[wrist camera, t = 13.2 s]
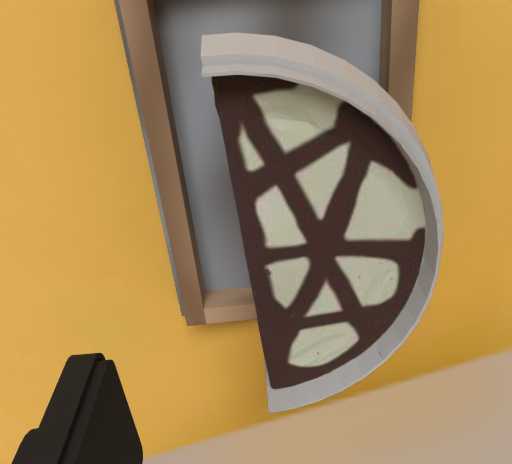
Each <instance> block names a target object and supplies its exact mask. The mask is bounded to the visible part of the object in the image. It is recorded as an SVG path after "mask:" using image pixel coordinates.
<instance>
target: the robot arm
mask: <svg viewBox="0 0 512 464" xmlns="http://www.w3.org/2000/svg"><path fill="white" fill-rule="evenodd" d="M142 462H143V451H142V445H141V442H140V439H139V436H138V433H137V430H136V427H135V424H134V421H133V418H132V415H131V412H130V409H129V406H128V403H127V400H126V397H125V394H124V391H123V388H122V385H121V382H120V379H119V376H118V373H117V370H116V367H115V364H114V362H113V360H105V357H104V355H103V354H102V353H93V354H82V355H71V356H70V357H69V358H68V360H67V362H66V364H65V366H64V369H63V371H62V373H61V376H60V378H59V381H58V383H57V385H56V388H55V390H54V392H53V395H52V397H51V399H50V402H49V404H48V407H47V409H46V411H45V414H44V416H43V418H42V421H41V423H40V425H39V428H36V429H32V430H30V431H29V432H28V433H27V434H26V435H25V437H24V438H23V440H22V442H21V444H20V446H19V448H18V451H17V453H16V455H15V457H14V460H13V462H12V464H142Z"/></svg>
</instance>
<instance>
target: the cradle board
mask: <svg viewBox="0 0 512 464" xmlns="http://www.w3.org/2000/svg"><path fill="white" fill-rule="evenodd" d="M114 1H115V6H116V11H117V15H118V20H119V25H120V29H121V34H122V39H123V43H124V48H125V53H126V57H127V62H128V67H129V71H130V76H131V81H132V85H133V90H134V95H135V99H136V104H137V108H138V113H139V118H140V122H141V127H142V132H143V136H144V141H145V146H146V150H147V155H148V160H149V164H150V169H151V174H152V178H153V183H154V188H155V192H156V197H157V202H158V206H159V211H160V216H161V220H162V225H163V230H164V234H165V239H166V244H167V248H168V253H169V257H170V262H171V267H172V271H173V276H174V281H175V285H176V290H177V295H178V299H179V304H180V309H181V313H182V316H185V318H186V322H187V326H191V325H202V324H212V323H222V322H233V321H243V320H253V319H257V314H256V308H255V303H254V297H253V292H252V288H251V283H250V278H249V273H248V268H247V263H246V257H245V252H244V246H243V241H242V235H241V229H240V224H239V218H238V213H237V209H236V203H235V197H234V192H233V187H232V182H231V177H230V172H229V166H228V161H227V155H226V150H225V144H224V139H223V134H222V129H221V124H220V119H219V115H218V113H217V110H216V107H215V99H214V90H213V86H212V78H211V77H202V75H201V72H202V67H203V65H202V60H201V41H202V35H212V34H225V33H248V34H260V35H272V36H278V37H282V38H286V39H290V40H293V41H297V42H301V43H305V44H309V45H312V46H314V47H317V48H319V49H321V50H323V51H326V52H328V53H330V54H332V55H335V56H337V57H339V58H341V59H344V60H345V61H347V62H348V63H350V64H351V65H353V66H354V67H356V68H357V69H359V70H360V71H362V72H363V73H365V74H366V75H368V76H369V77H371V78H372V79H373V80H374V81H376V82H377V83H378V84H379V85H380V86H381V87H382V88H383V89H384V90H385V91H386V92H387V93H388V94H389V95H390V96H391V97H392V98H393V99H394V100H395V101H396V102H397V103H398V104H399V106H400V107H401V109H402V110H403V112H404V113H405V114H406V116H407V117H408V119H409V120H410V121H411V115H412V100H413V85H414V70H415V54H416V39H417V24H418V9H419V0H114Z"/></svg>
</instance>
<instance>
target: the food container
mask: <svg viewBox="0 0 512 464" xmlns="http://www.w3.org/2000/svg"><path fill="white" fill-rule="evenodd" d="M201 60H202V65H203V67H202V72H201V75H202V77H211V78H212V86H213V90H214V99H215V107H216V110H217V113H218V115H219V119H220V124H221V129H222V134H223V139H224V144H225V150H226V155H227V161H228V166H229V172H230V177H231V182H232V187H233V192H234V197H235V203H236V209H237V213H238V218H239V224H240V229H241V235H242V241H243V246H244V252H245V257H246V263H247V268H248V273H249V278H250V283H251V288H252V292H253V297H254V303H255V308H256V314H257V320H258V325H259V331H260V336H261V341H262V346H263V352H264V359H265V371H266V382H267V394H268V406H269V414H270V413H275V412H281V411H286V410H291V409H295V408H299V407H302V406H305V405H308V404H312V403H315V402H318V401H320V400H323V399H325V398H327V397H330V396H332V395H334V394H336V393H339V392H341V391H343V390H345V389H346V388H348V387H350V386H351V385H353V384H355V383H357V382H358V381H360V380H362V379H363V378H365V377H366V376H367V375H369V374H370V373H371V372H373V371H374V370H375V369H377V368H378V367H379V366H380V365H382V364H383V363H384V362H385V361H386V360H387V359H388V358H389V357H390V356H391V355H392V354H393V353H394V352H395V351H396V350H397V349H398V348H399V347H400V346H401V345H402V344H403V343H404V342H405V340H406V339H407V337H408V336H409V335H410V333H411V332H412V331H413V329H414V328H415V327H416V325H417V324H418V322H419V320H420V318H421V316H422V315H423V313H424V311H425V309H426V307H427V305H428V303H429V301H430V299H431V295H432V292H433V289H434V286H435V283H436V280H437V277H438V272H439V264H440V257H441V250H442V243H443V214H442V205H441V201H440V197H439V193H438V188H437V184H436V180H435V177H434V173H433V170H432V167H431V164H430V161H429V157H428V155H427V153H426V150H425V148H424V146H423V144H422V142H421V139H420V137H419V135H418V133H417V131H416V129H415V127H414V126H413V124H412V123H411V121H410V120H409V119H408V117H407V116H406V114H405V113H404V112H403V110H402V109H401V107H400V106H399V104H398V103H397V102H396V101H395V100H394V99H393V98H392V97H391V96H390V95H389V94H388V93H387V92H386V91H385V90H384V89H383V88H382V87H381V86H380V85H379V84H378V83H377V82H376V81H374V80H373V79H372V78H371V77H369V76H368V75H366V74H365V73H363V72H362V71H360V70H359V69H357V68H356V67H354V66H353V65H351V64H350V63H348V62H347V61H345V60H344V59H341V58H339V57H337V56H335V55H332V54H330V53H328V52H326V51H323V50H321V49H319V48H317V47H314V46H312V45H309V44H305V43H301V42H297V41H293V40H290V39H286V38H282V37H278V36H272V35H260V34H248V33H225V34H212V35H202V41H201Z"/></svg>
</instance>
